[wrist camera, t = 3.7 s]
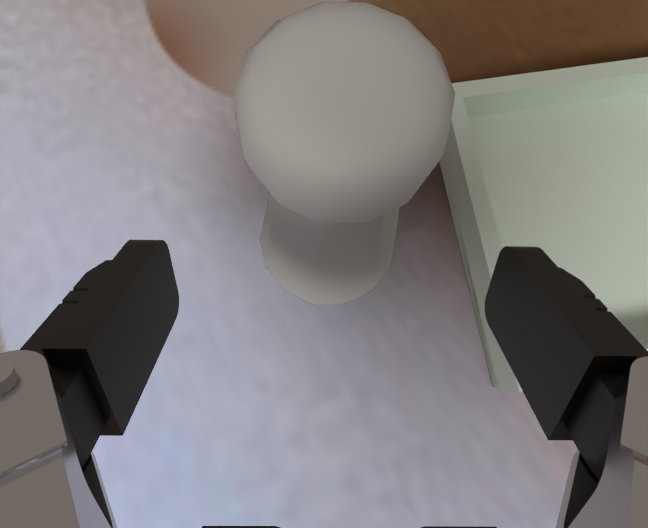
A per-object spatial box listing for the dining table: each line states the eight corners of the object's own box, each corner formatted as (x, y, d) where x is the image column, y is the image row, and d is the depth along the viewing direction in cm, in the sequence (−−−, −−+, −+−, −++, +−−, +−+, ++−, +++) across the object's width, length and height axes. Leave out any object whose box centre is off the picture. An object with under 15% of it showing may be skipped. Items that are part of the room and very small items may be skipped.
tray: (694, 78, 22) (741, 44, 20) (794, 333, 19) (864, 331, 17) (428, 114, 21) (442, 84, 19) (492, 386, 18) (519, 392, 16)
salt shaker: (266, 310, 19) (163, 236, 6) (267, 196, 20) (183, -62, 7) (389, 309, 19) (532, 232, 6) (383, 195, 20) (495, -61, 8)
